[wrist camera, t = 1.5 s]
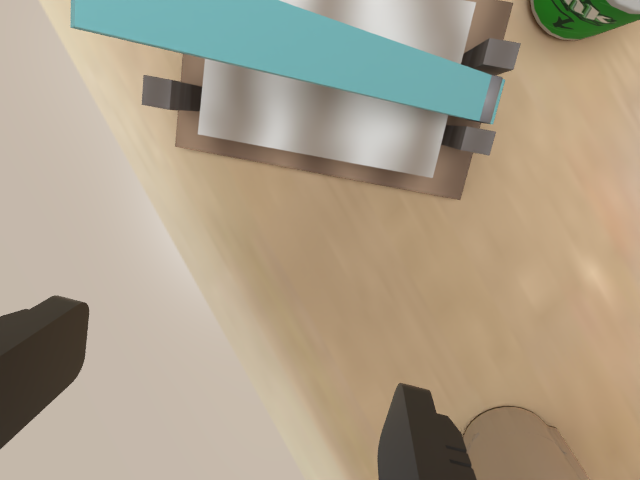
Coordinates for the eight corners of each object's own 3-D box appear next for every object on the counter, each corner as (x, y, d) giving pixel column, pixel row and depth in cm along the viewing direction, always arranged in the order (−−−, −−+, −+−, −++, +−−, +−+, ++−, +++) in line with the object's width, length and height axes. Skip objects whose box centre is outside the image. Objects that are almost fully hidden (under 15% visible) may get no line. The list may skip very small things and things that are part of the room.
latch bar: (488, 79, 31) (509, 80, 30) (477, 122, 32) (496, 124, 31) (71, -63, 16) (78, -73, 14) (69, 27, 16) (76, 26, 15)
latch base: (504, 9, 37) (558, -31, 27) (455, 196, 41) (486, 219, 31) (200, -45, 37) (146, -102, 28) (183, 145, 42) (132, 152, 32)
